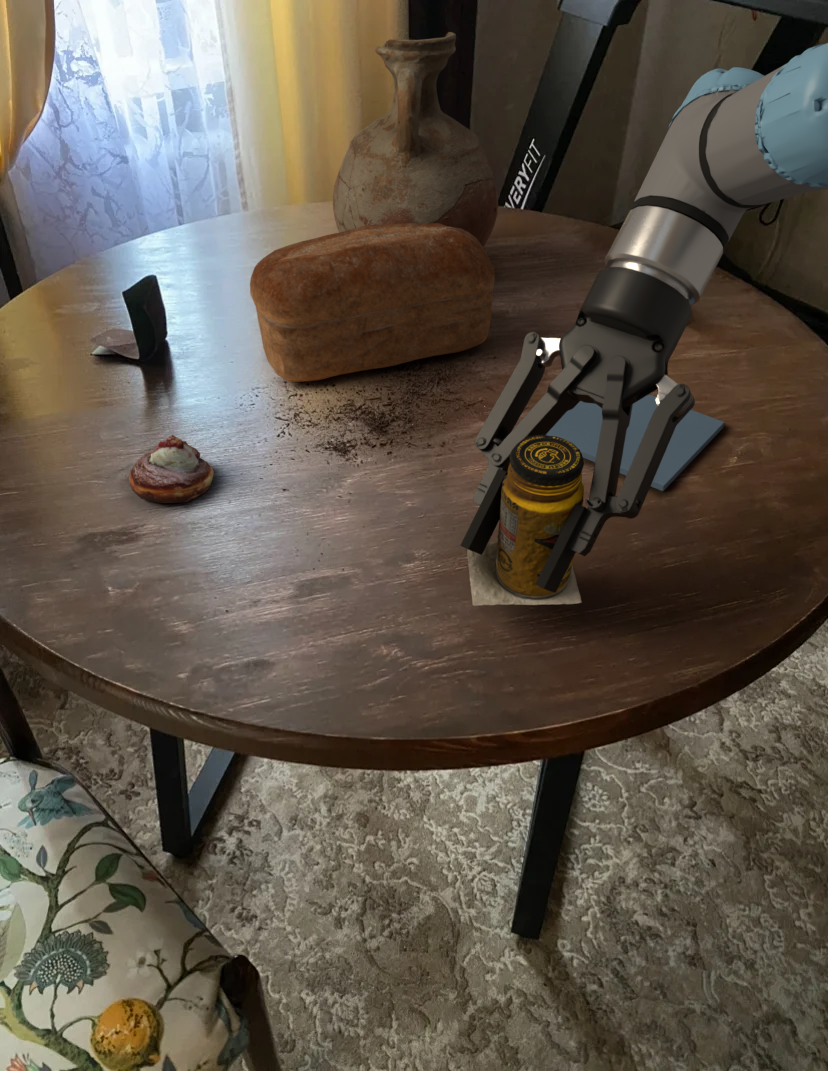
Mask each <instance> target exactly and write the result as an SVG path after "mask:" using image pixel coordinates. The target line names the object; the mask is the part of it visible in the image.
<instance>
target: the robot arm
mask: <svg viewBox="0 0 828 1071" xmlns="http://www.w3.org/2000/svg"><path fill="white" fill-rule="evenodd" d="M825 190H828V42H827V43H819V44H817V45H814V46H812V47H809V48H806V50H804V51H803V52H802V53H801V54H799V55H795V56H794V57H792V58H791V59H790V60H789V61H788V62H787V63H785V64H783V65H782V66H779V67H778V68H776V69H774V70H772V71H771V72H769V73H768V74H765V75H764V74H762V73H760V72H758V71H755V70H753V69H750V68H745V67H737V66H734V67H731V68H730V69H729V70H727V69H724V68H714V69H712V70H710V71H707V72H705V73H704V74H702V75H701V76H700V77H698V79H697V80H696V81H695V83H694V84H693V85H692V87H691V88H690V90H689V91H688V93H687V95H686V97H685V98H684V100H683V102H682V104H680V106H679V107H678V109H677V110H676V111H675V113H674V114H673V116H672V118H671V122H670V123H669V124H668V129H667V132H666V134H665V136H664V139H663V140H662V142H661V145H660V147H659V149H658V151H657V153H656V155H655V157H654V159H653V161H652V163H651V165H650V168H649V170H648V171H647V174H646V176H645V178H644V180H643V181H642V184H641V186H640V188H639V190H638V192H637V194H636V196H635V199H634V200H633V202H632V205H631V207H630V209H629V211H628V213H627V215H626V217H625V219H624V221H623V223H622V225H621V227H620V229H619V231H618V232H617V235H616V237H615V238H614V240H613V242H612V244H611V246H610V248H609V250H608V252H607V253H606V256H605V257H604V266H605V268H603V269H601V270H600V271H599V272H597V273H596V277H595V279H594V280H593V283H592V285H591V287H590V289H589V290H588V293H587V295H586V297H585V298H584V301H583V303H582V305H581V307H580V309H579V311H578V314H577V317H576V320H575V322H574V324H573V325H572V327H571V328H569V329H568V330H567V331H566V332H564V333H563V335H562V336H561V337H542V336H540V335H539V334H538V332H536V331H530V332H528V333H527V334H526V335H525V337H524V339H523V344H522V348H521V354H520V358H519V361H518V363H517V364H516V367H515V368H514V370H513V372H512V374H511V375H510V377H509V379H508V380H507V382H506V384H505V386H504V387H503V389H502V391H501V393H500V395H499V396H498V398H497V400H496V401H495V404H494V405H493V407H492V409H491V411H490V412H489V414H488V415H487V417H486V419H485V421H484V423H483V425H482V426H481V428H480V430H479V432H478V433H477V435H476V437H475V439H474V446H475V448H477V449H478V450H479V451H480V452H481V453H482V455H483V456H485V457H486V459H487V462H488V464H487V467H486V470H485V472H484V474H483V475H482V478H481V480H480V482H479V484H478V486H477V488H476V490H475V492H474V494H473V498H472V499H473V500H472V503H474V504H476V505H477V506H478V509H477V511H476V513H475V515H474V516H473V518H472V521H471V523H470V525H469V526H468V529H467V531H466V533H465V535H464V537H463V539H462V541H461V543H460V547H462V548H464V549H466V550H467V549H468V550H471V551H473V552H476V553H478V554H481V555H482V554H483V552H484V550H485V548H486V546H487V544H488V542H490V539H491V538H492V535H493V534H494V531H495V529H496V527H497V526H498V525H499V519H500V506H501V494H502V493H501V492H502V484H503V480H504V478H505V476H506V475H507V474H508V467H509V465H510V457H509V456H510V454H511V451H512V449H513V448H514V447H515V446H516V444H518V443H519V442H520V441H521V440H523V439H524V438H527V437H529V436H535V435H546V434H547V433H548V432H549V431H550V430H551V429H552V427H553V426H554V425H555V424H556V423H557V422H558V421H559V420H560V419H561V417H562V416H563V415H564V414H565V413H566V412H567V411H568V410H571V409H573V408H574V407H575V406H576V405H577V404H578V403H579V402H580V401H582V402H585V403H594V404H597V405H598V406H599V407H601V408H602V425H601V431H600V437H599V443H598V448H597V454H596V460H595V463H594V465H593V466H594V467H593V473H592V479H591V485H590V489H589V494H588V498H585V504H586V506H587V507H586V506H584V505H582V506H581V505H579V504H577V503H576V504H575V506H574V508H573V510H572V512H571V514H570V516H569V518H568V520H567V522H566V524H565V526H564V527H563V529H562V531H561V533H560V535H559V537H558V539H557V541H556V543H555V545H554V547H553V549H552V551H551V553H550V555H549V557H548V559H547V561H546V563H545V565H544V567H543V569H542V571H541V573H540V575H539V577H538V579H537V581H536V583H535V584H536V585H538V586H540V587H541V588H543V589H546V590H549V591H551V592H554V593H556V591H557V589H558V587H559V585H560V583H561V581H562V579H563V577H564V575H565V573H566V571H567V569H568V567H569V565H570V563H571V561H572V559H573V557H574V558H575V555H576V554H578V555H581V556H583V557H586V556H587V555H588V554H589V553H590V552H591V551H592V549H593V547H594V546H595V543H596V541H597V539H598V537H599V535H600V534H601V531H602V529H603V527H604V526H605V524H606V522H607V521H608V520H609V519H611V518H613V517H614V518H615V517H617V518H627V519H629V520H631V519H635V518H637V517H638V516H639V514H640V513H641V512H640V511H641V510H642V508H643V505H644V503H645V500H646V498H647V496H648V493H649V491H650V488H651V484H652V482H653V479H654V477H655V475H656V472H657V470H658V468H659V465H660V463H661V461H662V458H663V456H664V454H665V451H666V449H667V447H668V444H669V442H670V439H671V437H672V435H673V432H674V430H675V428H676V425H677V424H678V423H679V422H680V421H681V420H682V419H683V418H684V417H685V416H686V414H687V413H688V412H689V411H690V410H693V408H694V406H695V404H696V399H695V397H694V395H693V393H692V391H691V389H690V387H689V386H688V385H687V384H685V383H677V382H676V381H675V380H673V379H672V378H671V377H670V376H669V369H668V366H669V362H670V359H671V357H672V355H673V353H674V352H675V350H676V348H677V346H678V344H679V341H681V340H680V339H681V337H682V336H683V335H684V332H685V330H686V328H687V326H688V324H689V322H690V320H691V318H692V316H693V310H692V306H693V305H695V304H698V302H699V301H700V299H701V297H702V295H703V294H704V291H705V289H706V288H707V285H708V284H709V281H710V280H711V278H712V275H713V274H714V272H715V270H716V268H717V266H718V264H719V262H720V260H721V258H722V257H723V254H724V252H725V250H726V249H727V246H728V244H729V242H730V240H731V238H732V236H733V234H734V232H735V231H736V229H737V226H738V225H739V223H740V221H741V219H742V218H743V215H744V213H745V212H746V211H747V210H750V209H754V208H760V207H762V206H766V205H768V204H770V203H774V202H778V201H781V200H784V199H787V198H790V197H794V196H799V195H802V194H807V193H812V192H817V191H825ZM558 356H559V359H560V365H561V371H560V372H559V373H558V374H557V376H555V378H554V379H552V381H551V382H550V383H549V385H548V386H547V390H546V392H545V393H544V394H543V395H542V396H541V397H540V399H539V400H538V401H537V402H536V403H535V405H534V406H533V407H532V408H530V410H529V411H528V412H527V414H525V415H524V417H523V418H522V419H521V420H520V421H519V419H520V418H521V416H522V414H523V412H524V410H525V409H526V407H527V405H528V404H529V402H530V400H531V398H532V397H533V395H534V393H535V391H536V389H537V388H538V386H539V384H540V383H541V380H542V379H543V376H544V374H545V371H546V368H549V367H551V366H552V365H553V362H554V360H555V358H556V357H558ZM657 390H658V392H657V395H656V396H655V397H656V399H655V403H656V405H657V408H656V409H655V411H654V413H653V415H652V417H651V419H650V422H649V424H648V426H647V429H646V431H645V433H644V436H643V438H642V440H641V443H640V445H639V447H638V450H637V452H636V454H635V457H634V459H633V461H632V464H631V466H630V468H629V471H628V473H627V475H626V476H625V478H624V480H623V483H622V485H621V487H620V489H619V491H618V484H619V478H620V473H619V472H620V466H621V460H622V455H623V449H624V443H625V437H626V431H627V428H628V427H629V424H630V418H631V412H632V406H633V404H634V403H635V402H637V401H639V400H640V399H642V398H644V397H645V396H647V395H649V394H650V395H651V394H652V393H654V392H655V391H657ZM518 421H519V422H518ZM516 424H517V425H516ZM617 491H618V494H617ZM573 560H574V559H573Z"/></svg>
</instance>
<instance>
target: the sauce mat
mask: <svg viewBox="0 0 828 1071" xmlns="http://www.w3.org/2000/svg"><path fill="white" fill-rule="evenodd" d="M656 397H657V396H655V395H652V394H651V393H650V394H649V395H647V396H645V397H644V398H642V399H640V400H639V401H637V402H635V403H634V404H633V406H632V412H631V418H630V424H629V427H628V428H627V431H626V437H625V443H624V449H623V455H622V460H621V466H620V472H619V475H623V476H625V477H626V475H627V473H628V471H629V468H630V466H631V464H632V461H633V459H634V457H635V454H636V452H637V450H638V447H639V445H640V443H641V440H642V438H643V436H644V433H645V431H646V429H647V426H648V424H649V422H650V419H651V417H652V415H653V413H654V411H655V409H656V408H657V405H656V403H655V399H656ZM601 425H602V408H601V407H599V406H598V405H597V404H594V403H585V402H582V401H580V402H579V403H578V404H577V405H576V406H575V407H574V408H573V409H571V410H568V411H567V412H566V413H565V414H564V415H563V416H562V417H561V419H560V420H559V421H558V422H557V423H556V424H555V425H554V426H553V427H552V429H551V430H550V431H549V432H548V433H547V434H546V435H548V436H556V437H560V438H563V439H565V440H567V441H569V442H571V443H573V444H574V445H575V446H576V447H577V448H578V449H580V452H581V453H582V457H583V459H585V460H588V461H590V462H592V463H594V464H595V460H596V454H597V448H598V443H599V437H600V431H601ZM724 426H725V421H723V420H720V419H717V418H715V417H712V416H710V415H706V414H704V413H701V412H699V411H696V410H693V409H691V410H690V411H689V412H688V413H687V414H686V416H685V417H684V418H683V419H682V420H681V421H680V422H679V423H678V424H677V425H676V428H675V430H674V432H673V435H672V437H671V439H670V442H669V444H668V447H667V449H666V451H665V454H664V456H663V458H662V461H661V463H660V465H659V468H658V470H657V472H656V475H655V477H654V479H653V482H652V484H651V486H650V488H651V487H652V488H653V489H656V490H658V491H661V492H664V491H665V490H666V489H667V488H668V487H669V486H670V485H671V484H672V483H673V482H674V480H675V479H676V478H678V476H679V475H680V474H681V473H682V472H684V470H685V469H686V468H687V467H688V466H689V465H690V464H691V463H692V462H693V461H694V459H695V458H696V457H698V455H699V454H700V453H701V452H702V451H703V450H704V449H705V448H706V447H707V446H708V445H709V443H710V442H711V441H712V440H713V439H715V437H716V436H717V435H718V434H719V433H720V431H722V430H723V429H724Z"/></svg>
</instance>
